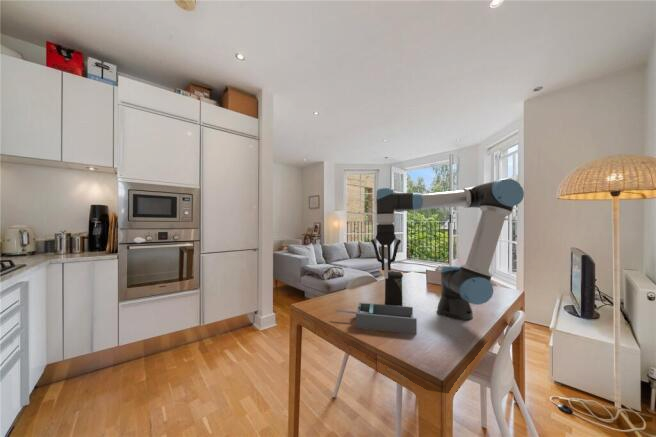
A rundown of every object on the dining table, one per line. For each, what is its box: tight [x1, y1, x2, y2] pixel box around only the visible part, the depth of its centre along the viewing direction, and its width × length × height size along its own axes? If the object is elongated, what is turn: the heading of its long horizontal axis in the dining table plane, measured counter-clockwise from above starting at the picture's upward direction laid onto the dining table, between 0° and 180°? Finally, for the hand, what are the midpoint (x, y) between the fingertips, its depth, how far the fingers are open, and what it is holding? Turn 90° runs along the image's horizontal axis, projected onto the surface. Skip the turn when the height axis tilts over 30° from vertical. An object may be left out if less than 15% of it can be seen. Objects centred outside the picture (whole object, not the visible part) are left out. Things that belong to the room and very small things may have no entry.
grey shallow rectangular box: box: [355, 302, 418, 335], centre depth 103 cm, size 24×14×6 cm, turn 77°
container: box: [384, 270, 404, 306], centre depth 116 cm, size 9×9×20 cm
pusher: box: [335, 303, 375, 314], centre depth 106 cm, size 16×11×5 cm
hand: (386, 277), depth 104 cm, fingers closed
